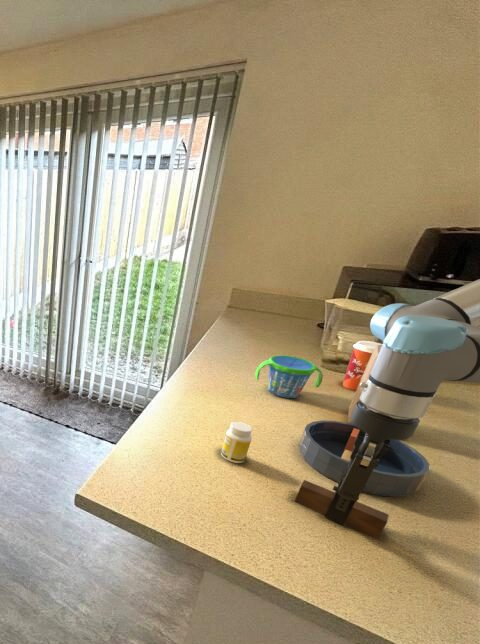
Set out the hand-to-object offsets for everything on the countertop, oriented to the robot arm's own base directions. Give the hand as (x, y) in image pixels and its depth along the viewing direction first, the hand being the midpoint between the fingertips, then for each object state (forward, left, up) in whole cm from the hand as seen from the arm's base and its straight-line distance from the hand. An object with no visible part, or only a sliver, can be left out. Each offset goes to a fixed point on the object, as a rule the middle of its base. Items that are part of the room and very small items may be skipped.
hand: (335, 514), depth 74 cm
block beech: (0, -15, 0) cm, 15 cm away
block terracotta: (0, -27, 0) cm, 27 cm away
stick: (0, 0, 0) cm, 0 cm away
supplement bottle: (+19, -5, 0) cm, 20 cm away
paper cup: (+5, -69, 0) cm, 69 cm away
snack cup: (+19, -49, 0) cm, 53 cm away
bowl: (0, -21, 0) cm, 21 cm away
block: (-1, -46, 0) cm, 46 cm away
